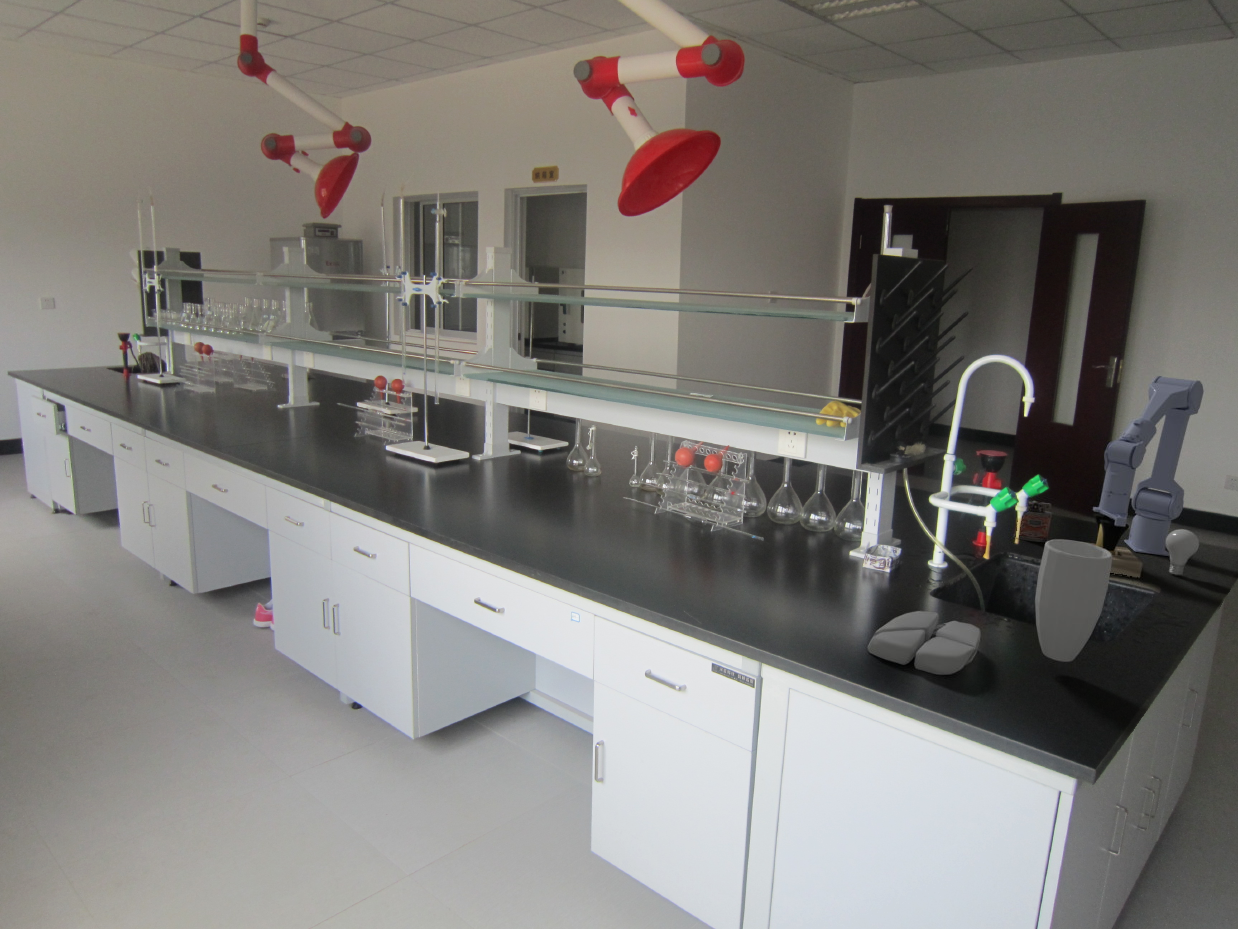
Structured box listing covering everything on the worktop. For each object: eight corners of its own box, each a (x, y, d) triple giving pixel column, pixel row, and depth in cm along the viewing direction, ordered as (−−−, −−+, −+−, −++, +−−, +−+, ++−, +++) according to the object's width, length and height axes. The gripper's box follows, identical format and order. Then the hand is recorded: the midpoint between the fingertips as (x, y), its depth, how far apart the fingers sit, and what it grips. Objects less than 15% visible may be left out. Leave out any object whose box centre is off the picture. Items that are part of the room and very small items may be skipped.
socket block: (1069, 554, 202) (1071, 540, 201) (1124, 561, 199) (1126, 547, 198) (1081, 569, 190) (1084, 555, 190) (1139, 577, 187) (1142, 563, 186)
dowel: (1091, 554, 197) (1097, 522, 196) (1109, 556, 197) (1116, 524, 195) (1097, 559, 194) (1103, 527, 192) (1115, 562, 193) (1122, 529, 191)
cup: (1030, 651, 144) (1052, 534, 139) (1096, 672, 137) (1122, 550, 133) (1012, 670, 136) (1034, 546, 131) (1081, 693, 130) (1107, 564, 125)
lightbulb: (1185, 572, 193) (1195, 528, 190) (1195, 581, 187) (1206, 535, 184) (1154, 568, 195) (1164, 524, 192) (1164, 577, 189) (1174, 531, 186)
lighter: (1015, 538, 212) (1021, 501, 210) (1012, 535, 215) (1018, 498, 213) (1049, 542, 210) (1055, 505, 208) (1045, 539, 214) (1052, 502, 211)
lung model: (856, 653, 140) (905, 623, 159) (960, 690, 129) (999, 653, 149) (863, 616, 139) (911, 591, 158) (969, 651, 128) (1006, 619, 148)
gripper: (1089, 483, 199) (1079, 536, 202) (1106, 497, 186) (1094, 554, 189) (1122, 486, 197) (1111, 540, 201) (1141, 501, 184) (1129, 558, 187)
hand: (1105, 547), depth 194 cm, fingers closed on dowel, 4 cm apart
